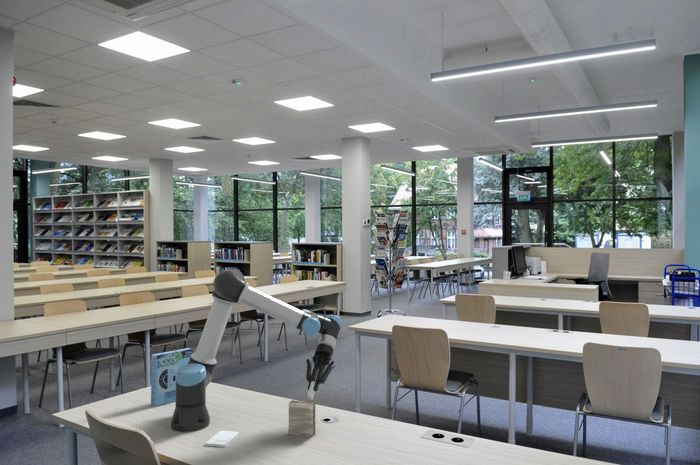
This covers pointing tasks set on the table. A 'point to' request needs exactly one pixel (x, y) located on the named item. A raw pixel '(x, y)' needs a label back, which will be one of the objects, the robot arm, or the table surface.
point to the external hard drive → (222, 439)
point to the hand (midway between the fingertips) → (309, 397)
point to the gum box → (166, 374)
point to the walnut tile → (302, 418)
